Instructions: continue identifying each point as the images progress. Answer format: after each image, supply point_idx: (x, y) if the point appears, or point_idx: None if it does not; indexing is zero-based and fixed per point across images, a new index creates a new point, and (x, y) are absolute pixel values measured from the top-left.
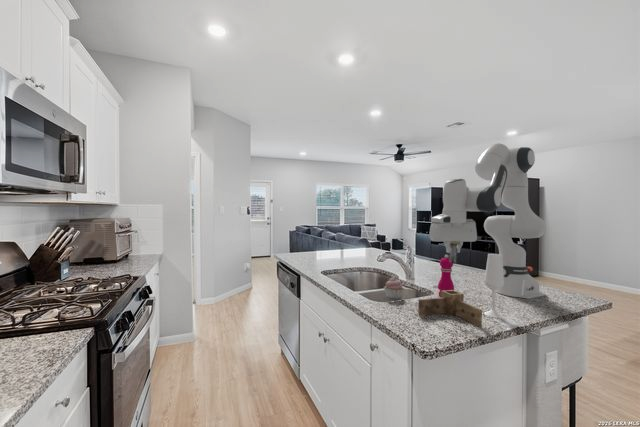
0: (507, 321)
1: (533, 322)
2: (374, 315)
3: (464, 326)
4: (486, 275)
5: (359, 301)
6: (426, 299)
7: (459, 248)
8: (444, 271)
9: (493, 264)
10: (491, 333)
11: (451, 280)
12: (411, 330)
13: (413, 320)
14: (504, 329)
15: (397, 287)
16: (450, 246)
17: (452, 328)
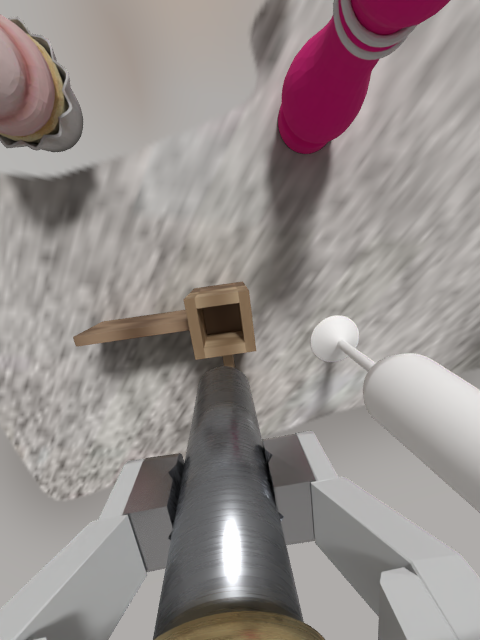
0: (332, 385)
1: None
2: None
3: None
4: (389, 407)
5: None
6: (105, 340)
7: (325, 541)
8: (341, 41)
9: (461, 496)
10: None
11: (358, 95)
12: (48, 422)
13: (72, 364)
14: (284, 426)
15: (15, 133)
16: (165, 573)
17: (160, 416)
